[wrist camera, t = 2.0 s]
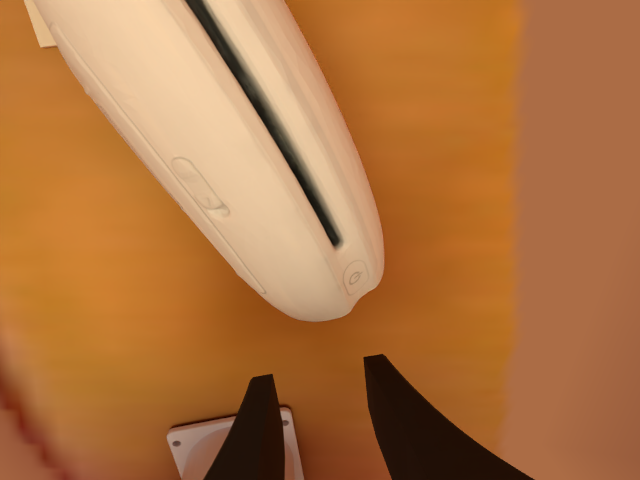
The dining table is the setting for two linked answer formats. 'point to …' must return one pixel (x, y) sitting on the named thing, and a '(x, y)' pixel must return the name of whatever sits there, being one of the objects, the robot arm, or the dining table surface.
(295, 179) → the photo printer
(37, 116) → the dining table surface
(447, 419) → the robot arm
